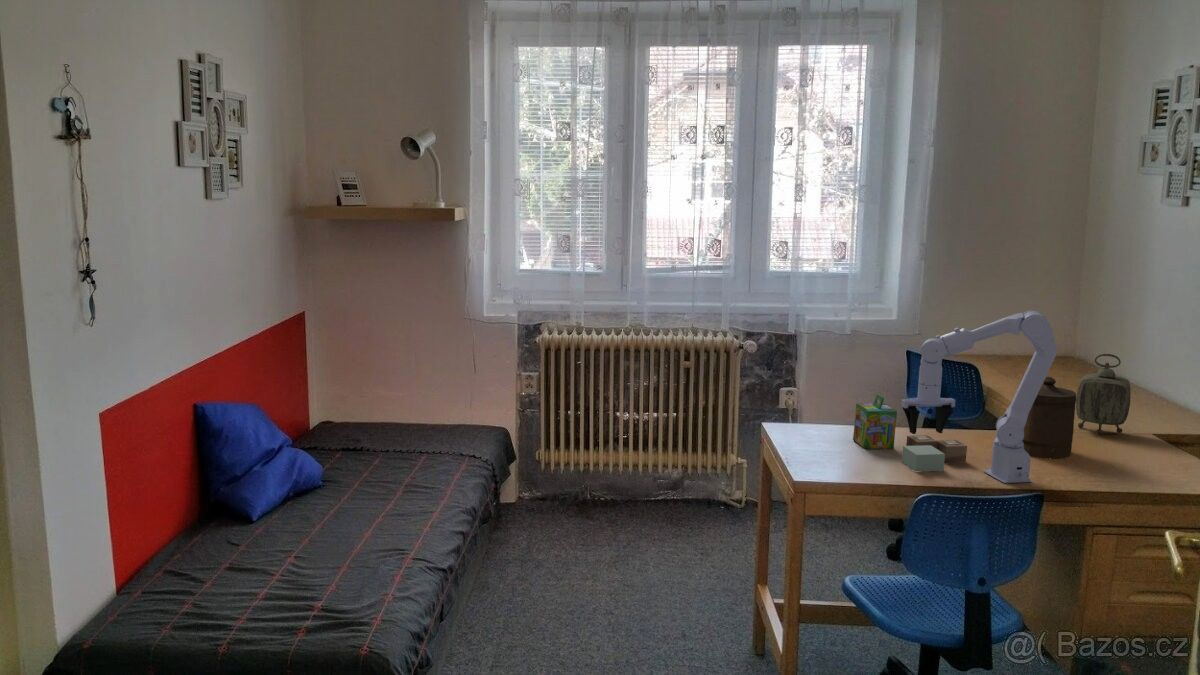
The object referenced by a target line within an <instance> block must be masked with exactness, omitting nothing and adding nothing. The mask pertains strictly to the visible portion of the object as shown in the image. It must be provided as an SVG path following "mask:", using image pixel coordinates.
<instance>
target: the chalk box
mask: <svg viewBox="0 0 1200 675" xmlns="http://www.w3.org/2000/svg"><path fill="white" fill-rule="evenodd" d="M878 400H879V403H878ZM884 400H885V397H883V396H881V395H879V394H876V396H875V399H874V401H873V403H856V404H855V415H854V425H853V436H852V440H853V442H855V443H857V444H858V445H859V446H860V447H862V448H863V449H864V450H875V449H876V450H877V449H879V450H880V449H881V450H884V449H885V450H886V449H887V450H888V449H889V450H894V448H895V438H896V428H897V427H896V426H897V416H898V415H897V414H898V413H897V409H894V408H892V406H890V405H888V404H887V403H884Z"/></svg>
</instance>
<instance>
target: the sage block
mask: <svg viewBox="0 0 1200 675" xmlns="http://www.w3.org/2000/svg"><path fill="white" fill-rule="evenodd" d="M901 456H902V457H901V463H902V464H903V465H905V466H906V467H907V466H908V467H907V468H909V469H910V470H911V471H913V470H914V471H939V472H945V471H944V469H945V463H944V461H945V454H944V453H942V452H941V451H939V450H938V449H936V448H934V447H933V446H931V445H924V446H906V445H903V446H902V455H901ZM914 471H913V472H914Z"/></svg>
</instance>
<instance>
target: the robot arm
mask: <svg viewBox="0 0 1200 675" xmlns="http://www.w3.org/2000/svg"><path fill="white" fill-rule="evenodd" d="M1020 332H1021V333H1022V334H1023V336H1025V338H1026V339H1028V340H1029V341H1030V342H1031V345H1032V347H1033V348H1034V350H1035V351H1034V353H1033V355H1032V357H1031V359H1030V362H1029V364H1028V365H1027V366H1028V367H1027V368H1026V370H1025V372H1024V374H1023V377H1022V379H1021V381H1020V383H1019V386H1018V388H1017V390H1016V392H1015V394H1014V396H1013V398H1012V400H1011V403H1010V404H1009V406H1008V407H1007V409H1006V411H1005V412H1004V414H1003V415H1002V416H1001V417H999V418H998V419H997V421H996V423H995V428H996V437H995V438H994V439H993V441H992V442H993V444H992V454H991V464H990V469H983V472H984V473H985V474H986V475H989V476H991V477H992V478H994V479H996V480H998V481H1000V482H1001V483H1004V484H1010V483H1011V484H1012V483H1013V484H1014V483H1032V479H1031V478H1030V469H1031V456H1029V454H1028V453H1027V452H1026V451H1025V450H1024V446H1023V445H1024V443H1023V441H1022V440H1023V438H1024V426H1025V424H1026V421H1027V417H1028V414H1029V412H1030V409H1031V407H1032V405H1033V403H1034V401H1035V399H1036V397H1037V395H1038V392H1039V390H1040V388H1041V386H1042V384H1043V382H1044V380H1045V378H1046V377H1047V375H1048V374H1049V370H1050V369H1051V366H1052V364H1053V362H1054V360H1055V358H1056V356H1057V354H1058V347H1057V346H1058V345H1057V342H1056V338H1055V334H1054V329H1053V327H1052V326H1051V323H1050V322H1049V321H1048V319H1047V318H1046V316H1045V315H1044V313H1042V312H1041V311H1039V310H1036V309H1031V310H1027V311H1025V312H1018V313H1015V314H1011V315H1009V316H1006V317H1002V318H1000V319H997V320H995V321H992V322H990V323H988V324H985V325H982V326H980V327H977V328H975V329H972V330H970V329H968V328H965V327H963V328H961V329H960V327H955V328H953V331H951V332H948V333H946V334H943V335H940V334H937V335H936V336H935V338H933V337H932V338H927V339H926V340H925V341H924V342H923V343H922V344H921V347H920V356H921V359H920V366H919V371H918V385H917V397H911V398H905V399H904V398H903V399H901V402H900V407H902V410H903V412H904V415H905V417H906V420H907V423H908V430H909V433H910V434H912V435H916V434H917V429H918V428H917V427H918V420H919V417H920V413H921V412H920V410H919V409H918V408H928V407H931V408H932V407H935V414H936V418H935V419H936V421H935V432H937V433H939V434H943V431H944V429H945V426H946V424H947V421H948V420H949V418H950V417H951V415H952V414H953V413H954V408H955V407H956V399H955V398H952V397H941V390H942V377H943V366H942V362H943V359H944V357H951V356H954V355H956V354H960V353H963V352H965V351H968V350H971V349H973V347H974V345H975V343H977V342H980V341H983V340H987V339H990V338H993V337H996V336H1000V335H1003V334H1006V333H1007V334H1011V335H1017V336H1020V335H1021V334H1020Z"/></svg>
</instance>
